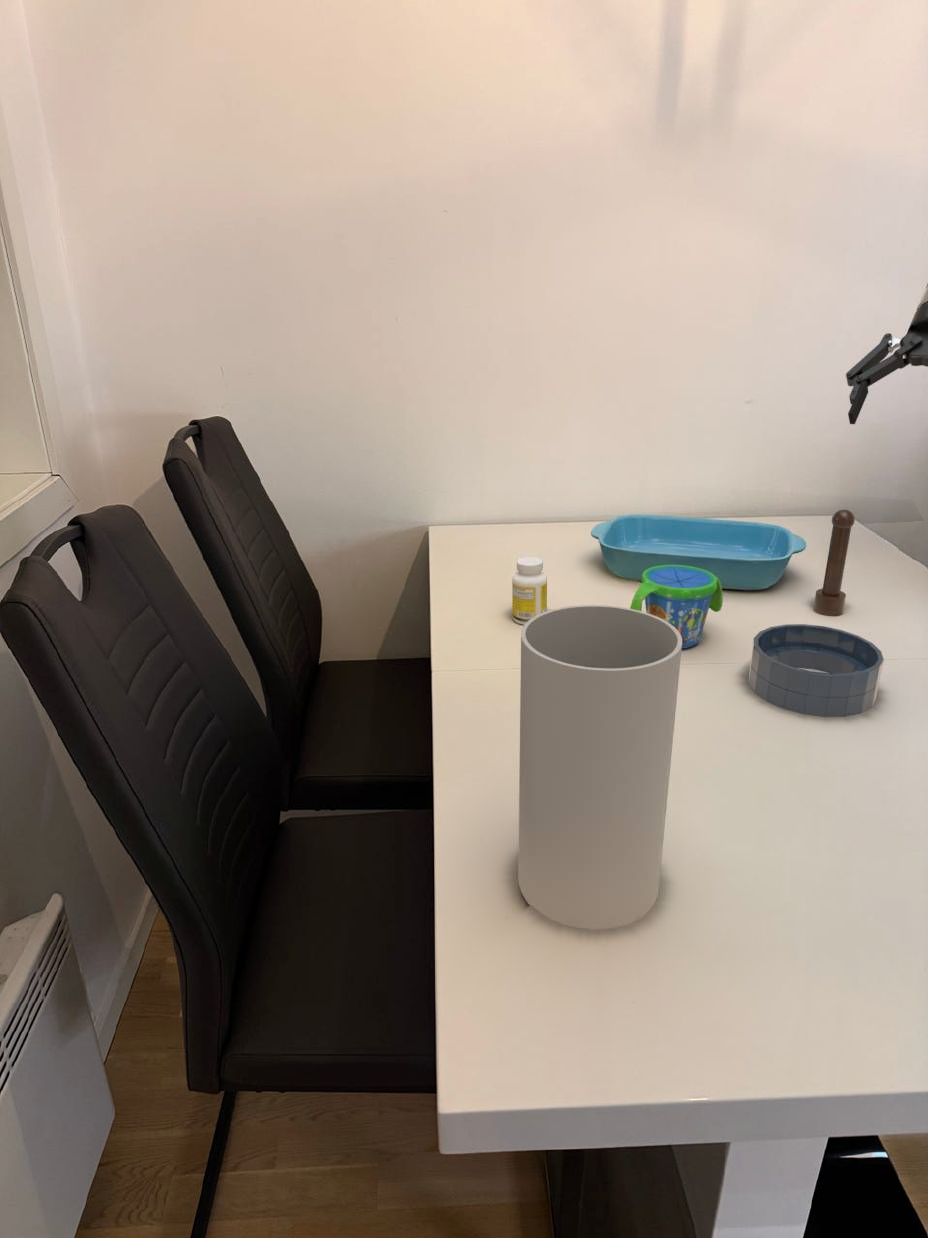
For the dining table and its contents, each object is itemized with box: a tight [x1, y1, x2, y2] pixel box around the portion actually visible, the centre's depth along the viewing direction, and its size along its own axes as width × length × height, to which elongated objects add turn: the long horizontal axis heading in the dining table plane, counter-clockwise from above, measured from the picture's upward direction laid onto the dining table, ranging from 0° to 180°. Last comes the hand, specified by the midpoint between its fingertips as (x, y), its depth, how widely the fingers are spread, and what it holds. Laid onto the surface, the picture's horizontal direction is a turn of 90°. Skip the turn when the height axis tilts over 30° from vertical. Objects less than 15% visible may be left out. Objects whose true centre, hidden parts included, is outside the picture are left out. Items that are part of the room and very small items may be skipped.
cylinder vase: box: [517, 604, 683, 931], centre depth 71 cm, size 12×12×25 cm
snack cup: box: [629, 565, 724, 649], centre depth 122 cm, size 16×10×10 cm
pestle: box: [812, 508, 856, 617], centre depth 130 cm, size 4×4×17 cm
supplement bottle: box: [511, 556, 548, 626], centre depth 130 cm, size 5×5×10 cm
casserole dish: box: [590, 514, 807, 591], centre depth 150 cm, size 37×22×7 cm, turn 71°
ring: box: [748, 623, 885, 718], centre depth 107 cm, size 15×15×6 cm
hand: (896, 423), depth 131 cm, fingers open, 13 cm apart
